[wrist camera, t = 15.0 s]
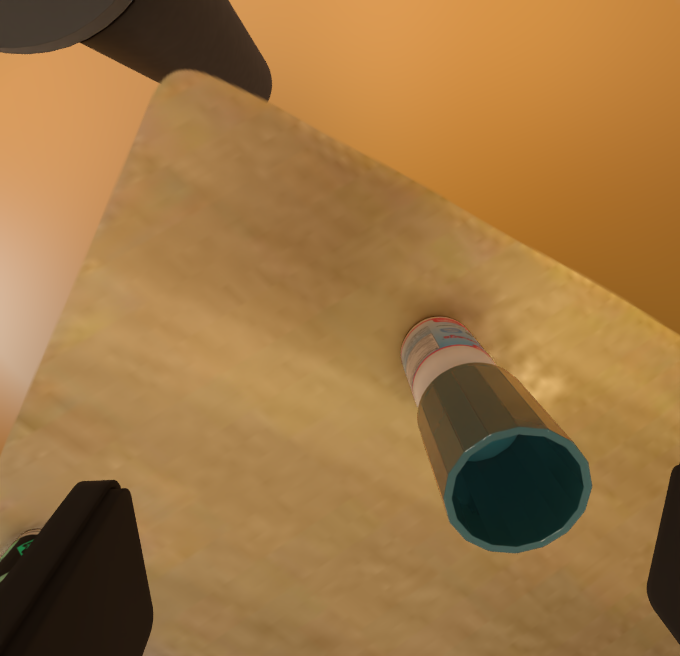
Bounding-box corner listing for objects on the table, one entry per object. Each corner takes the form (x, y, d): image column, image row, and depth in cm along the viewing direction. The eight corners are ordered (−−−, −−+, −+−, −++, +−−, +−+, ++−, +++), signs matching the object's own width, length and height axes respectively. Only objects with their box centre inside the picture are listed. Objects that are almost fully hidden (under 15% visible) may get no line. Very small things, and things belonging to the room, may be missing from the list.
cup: (396, 433, 31) (417, 518, 23) (455, 342, 29) (498, 403, 22) (487, 477, 32) (535, 572, 24) (548, 392, 30) (621, 466, 23)
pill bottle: (487, 342, 41) (541, 402, 30) (439, 396, 43) (474, 471, 32) (431, 299, 40) (467, 346, 29) (384, 356, 41) (402, 420, 31)
